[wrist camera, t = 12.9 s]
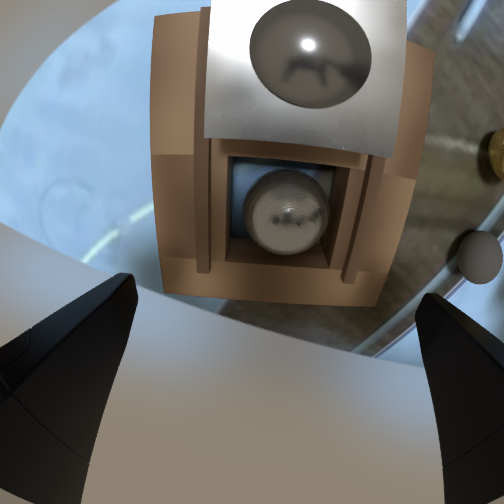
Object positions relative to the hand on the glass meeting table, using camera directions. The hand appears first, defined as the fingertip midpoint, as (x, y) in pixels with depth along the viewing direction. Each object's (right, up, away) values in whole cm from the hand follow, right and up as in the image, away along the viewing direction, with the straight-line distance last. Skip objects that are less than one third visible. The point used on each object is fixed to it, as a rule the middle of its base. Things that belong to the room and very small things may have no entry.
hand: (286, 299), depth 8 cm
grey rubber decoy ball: (+14, +1, +6) cm, 15 cm away
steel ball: (+1, +3, +5) cm, 6 cm away
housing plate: (+1, +6, +6) cm, 8 cm away
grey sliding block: (+1, +9, +1) cm, 9 cm away
